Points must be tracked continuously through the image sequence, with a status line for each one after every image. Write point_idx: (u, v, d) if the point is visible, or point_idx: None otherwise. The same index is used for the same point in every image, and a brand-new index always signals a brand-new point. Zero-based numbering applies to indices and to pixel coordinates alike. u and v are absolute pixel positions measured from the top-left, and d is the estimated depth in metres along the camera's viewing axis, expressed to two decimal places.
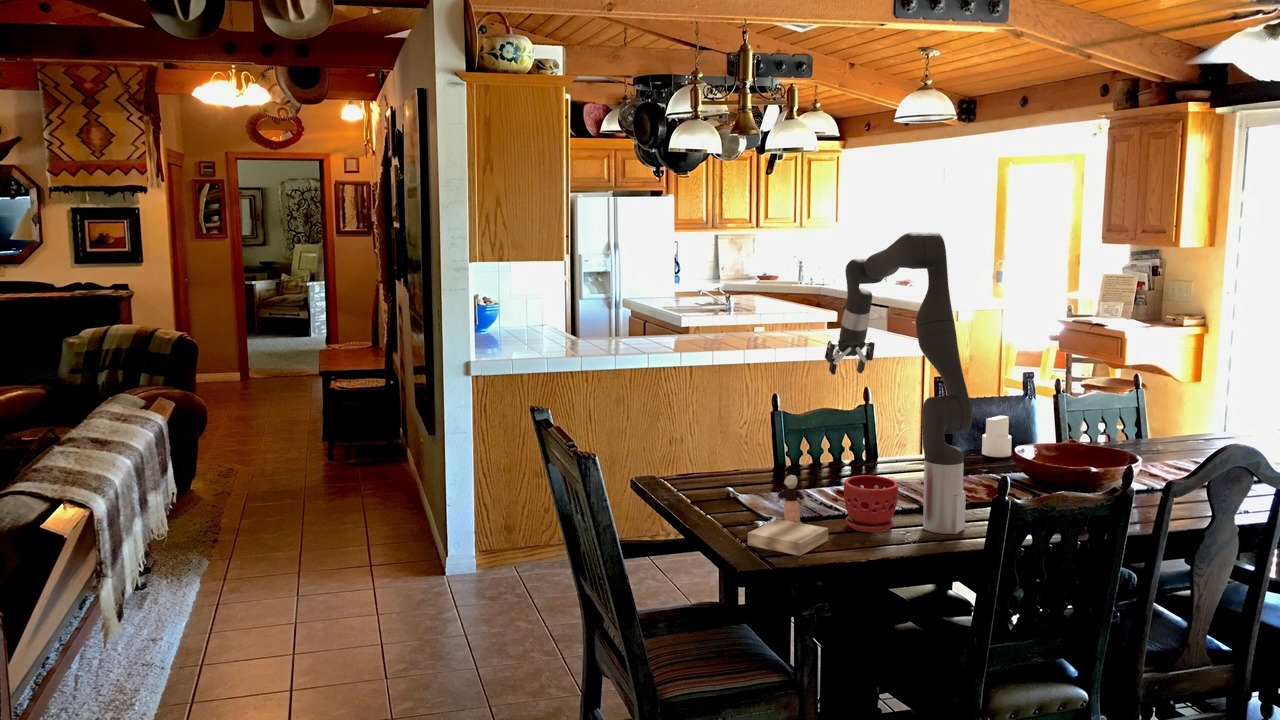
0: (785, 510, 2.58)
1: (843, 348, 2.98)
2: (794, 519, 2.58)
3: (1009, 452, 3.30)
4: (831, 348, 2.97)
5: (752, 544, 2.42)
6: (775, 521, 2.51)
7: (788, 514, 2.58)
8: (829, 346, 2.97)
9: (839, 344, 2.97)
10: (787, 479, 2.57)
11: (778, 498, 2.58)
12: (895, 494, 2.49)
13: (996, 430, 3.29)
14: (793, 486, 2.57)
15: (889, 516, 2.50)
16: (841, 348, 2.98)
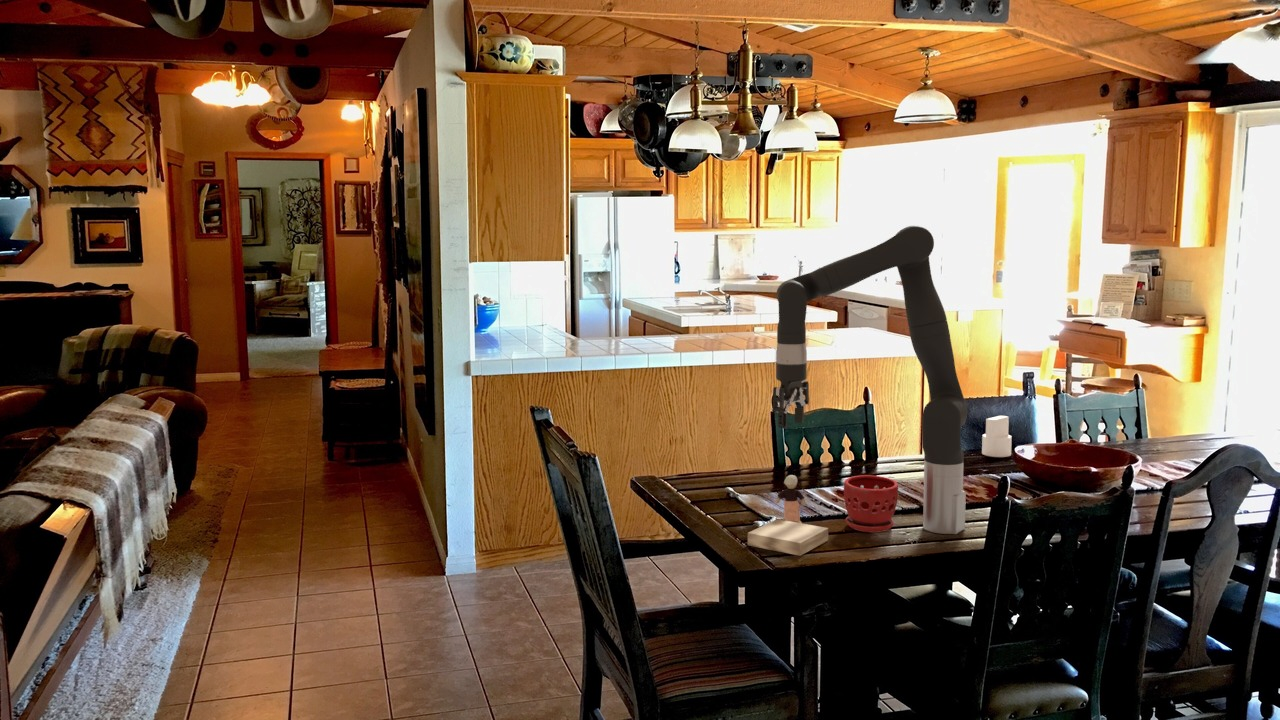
0: (785, 510, 2.58)
1: (789, 392, 2.52)
2: (794, 519, 2.58)
3: (1009, 452, 3.30)
4: (782, 393, 2.49)
5: (752, 544, 2.42)
6: (775, 521, 2.51)
7: (788, 514, 2.58)
8: (778, 392, 2.49)
9: (785, 388, 2.51)
10: (787, 479, 2.57)
11: (778, 498, 2.58)
12: (895, 494, 2.49)
13: (996, 430, 3.29)
14: (793, 486, 2.57)
15: (889, 516, 2.50)
16: (788, 392, 2.51)
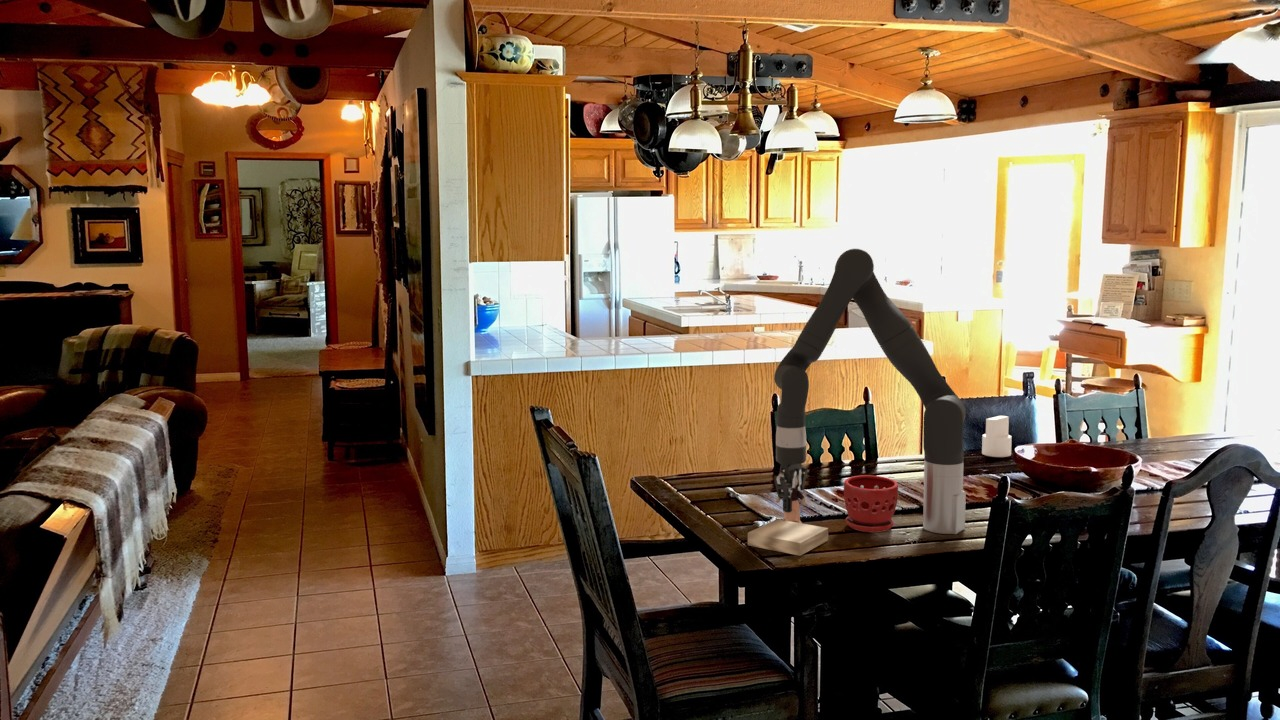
0: None
1: (789, 477, 2.55)
2: (794, 519, 2.58)
3: (1009, 452, 3.30)
4: (783, 482, 2.52)
5: (752, 544, 2.42)
6: (775, 521, 2.51)
7: (788, 514, 2.58)
8: (779, 482, 2.53)
9: (785, 473, 2.54)
10: None
11: (778, 498, 2.59)
12: (895, 494, 2.49)
13: (996, 430, 3.29)
14: None
15: (889, 516, 2.50)
16: (788, 478, 2.54)
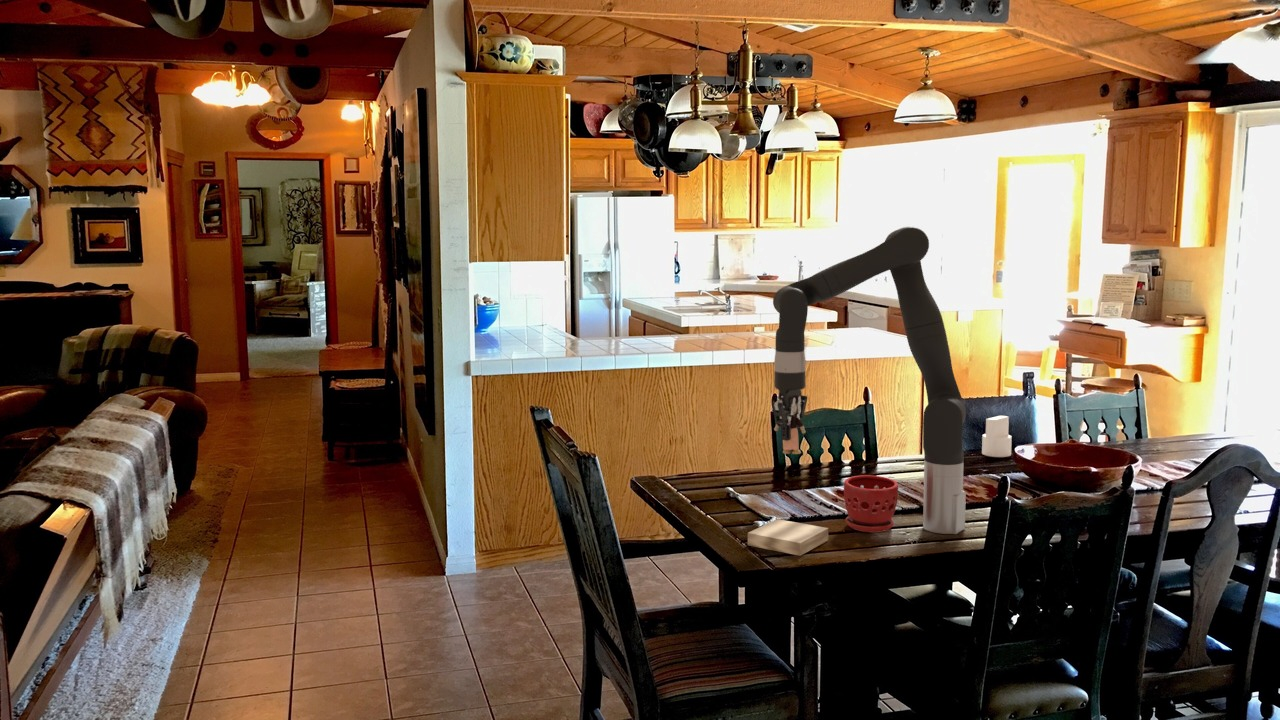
0: None
1: (788, 403, 2.47)
2: (793, 447, 2.50)
3: (1009, 452, 3.30)
4: (781, 408, 2.45)
5: (752, 544, 2.42)
6: (775, 521, 2.51)
7: (787, 442, 2.51)
8: (777, 408, 2.45)
9: (783, 399, 2.46)
10: None
11: (777, 425, 2.51)
12: (895, 494, 2.49)
13: (996, 430, 3.29)
14: None
15: (889, 516, 2.50)
16: (787, 405, 2.47)
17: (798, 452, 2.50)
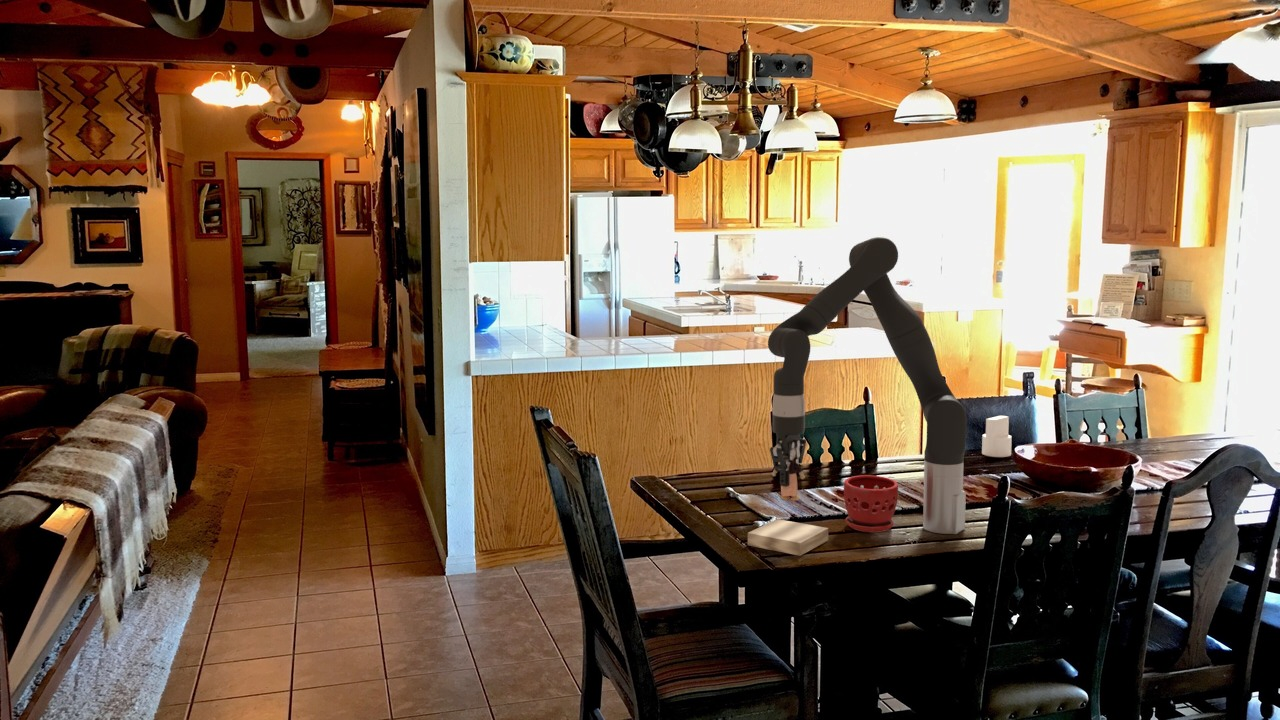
0: None
1: (787, 448, 2.38)
2: (791, 493, 2.41)
3: (1009, 452, 3.30)
4: (780, 454, 2.36)
5: (752, 544, 2.42)
6: (775, 521, 2.51)
7: (785, 488, 2.42)
8: (775, 454, 2.36)
9: (782, 444, 2.37)
10: None
11: (775, 471, 2.42)
12: (895, 494, 2.49)
13: (996, 430, 3.29)
14: None
15: (889, 516, 2.50)
16: (785, 450, 2.38)
17: (797, 498, 2.41)
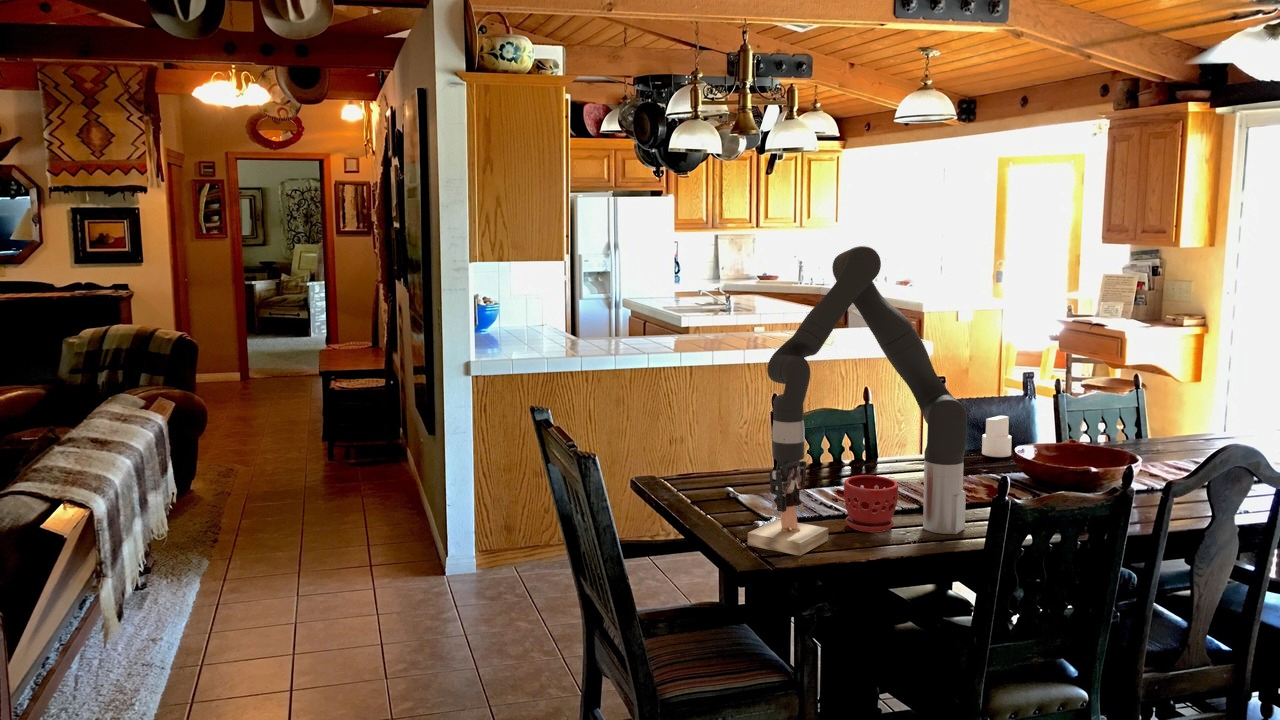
0: (782, 516, 2.43)
1: (786, 473, 2.39)
2: (791, 525, 2.42)
3: (1009, 452, 3.30)
4: (779, 477, 2.36)
5: (752, 544, 2.42)
6: (775, 521, 2.51)
7: (785, 520, 2.42)
8: (774, 476, 2.36)
9: (782, 469, 2.38)
10: None
11: (774, 503, 2.43)
12: (895, 494, 2.49)
13: (996, 430, 3.29)
14: (790, 491, 2.41)
15: (889, 516, 2.50)
16: (785, 474, 2.38)
17: (797, 530, 2.42)
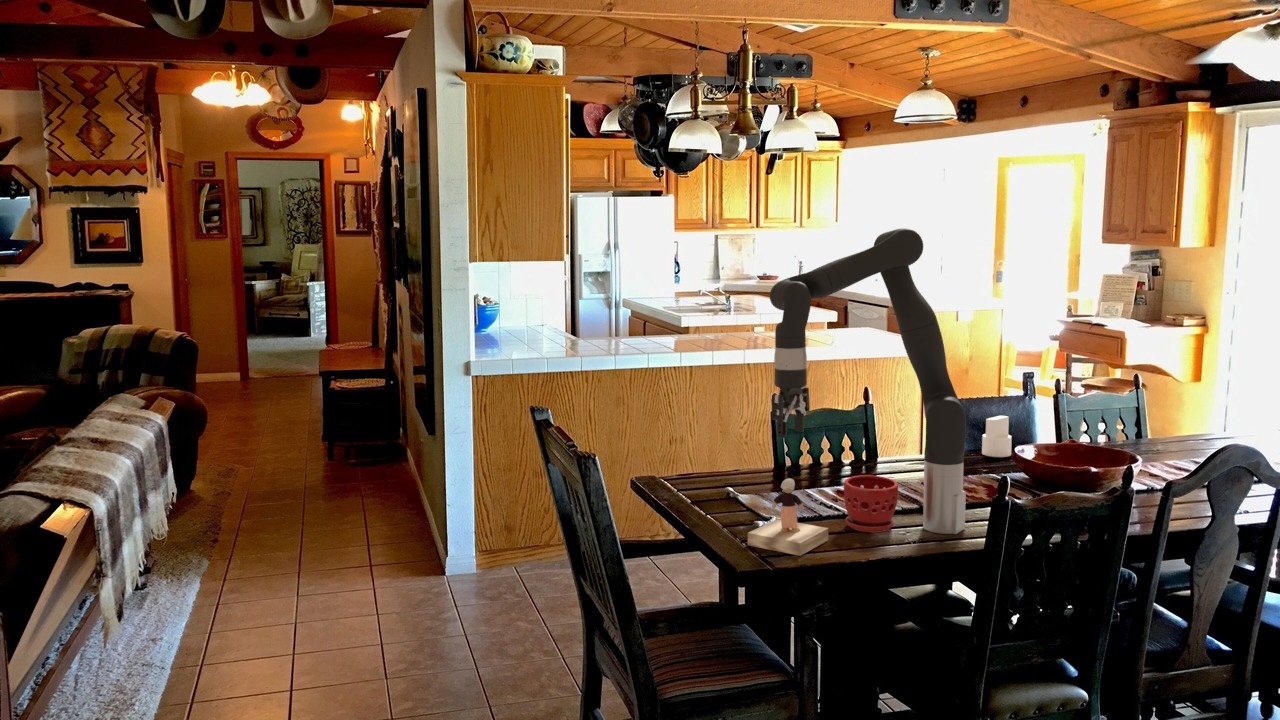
0: (782, 516, 2.43)
1: (789, 399, 2.37)
2: (791, 525, 2.42)
3: (1009, 452, 3.30)
4: (781, 401, 2.34)
5: (752, 544, 2.42)
6: (775, 521, 2.51)
7: (785, 520, 2.42)
8: (777, 400, 2.35)
9: (784, 395, 2.36)
10: (784, 483, 2.41)
11: (774, 503, 2.43)
12: (895, 494, 2.49)
13: (996, 430, 3.29)
14: (790, 490, 2.41)
15: (889, 516, 2.50)
16: (787, 399, 2.37)
17: (797, 530, 2.42)
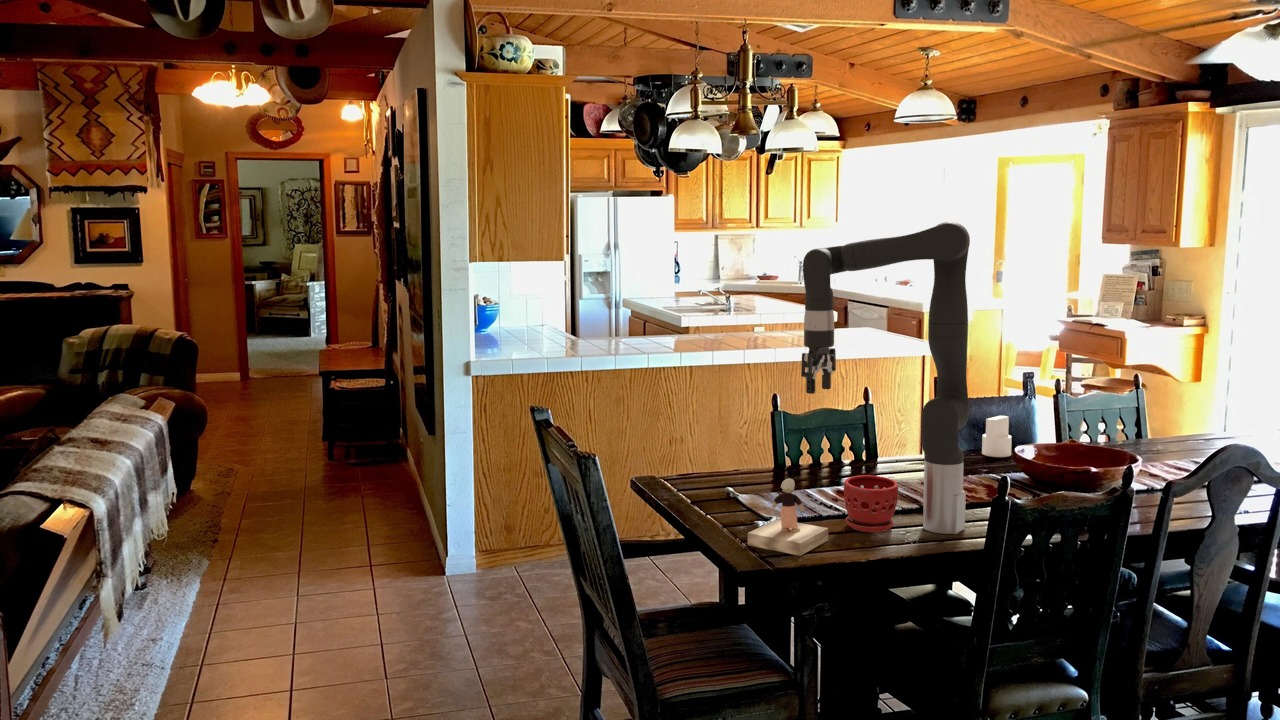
0: (782, 516, 2.43)
1: (817, 358, 2.56)
2: (791, 525, 2.42)
3: (1009, 452, 3.30)
4: (810, 359, 2.53)
5: (752, 544, 2.42)
6: (775, 521, 2.51)
7: (785, 520, 2.42)
8: (806, 358, 2.53)
9: (813, 354, 2.55)
10: (784, 483, 2.41)
11: (774, 503, 2.43)
12: (895, 494, 2.49)
13: (996, 430, 3.29)
14: (790, 490, 2.41)
15: (889, 516, 2.50)
16: (816, 358, 2.56)
17: (797, 530, 2.42)
